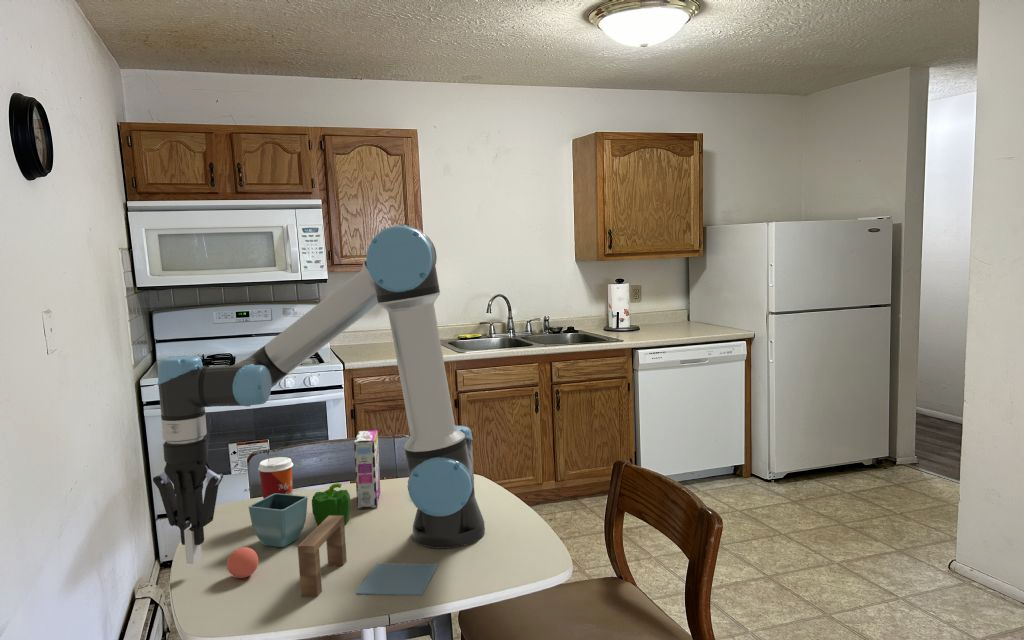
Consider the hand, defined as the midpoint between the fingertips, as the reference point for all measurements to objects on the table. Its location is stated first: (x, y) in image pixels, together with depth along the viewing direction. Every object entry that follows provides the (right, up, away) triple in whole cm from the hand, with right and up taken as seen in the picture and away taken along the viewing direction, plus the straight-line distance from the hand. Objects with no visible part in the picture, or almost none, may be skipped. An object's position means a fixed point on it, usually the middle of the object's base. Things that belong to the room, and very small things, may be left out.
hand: (194, 560), depth 135 cm
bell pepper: (+21, 0, +22) cm, 30 cm away
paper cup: (+7, 0, +27) cm, 28 cm away
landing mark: (+40, -2, -5) cm, 40 cm away
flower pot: (+12, -1, +15) cm, 19 cm away
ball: (+10, 0, -1) cm, 10 cm away
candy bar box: (+26, +1, +38) cm, 46 cm away
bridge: (+26, -2, -3) cm, 26 cm away
